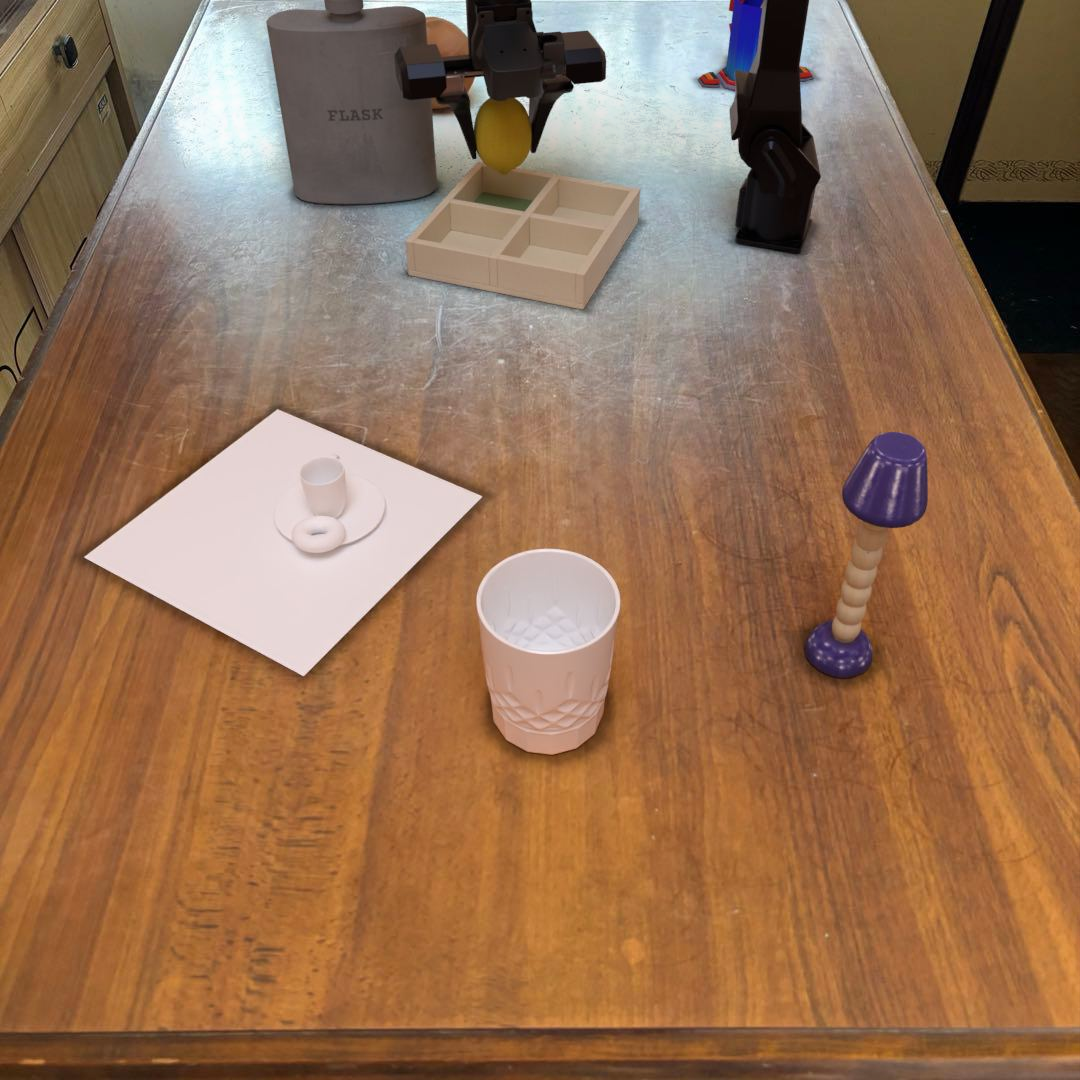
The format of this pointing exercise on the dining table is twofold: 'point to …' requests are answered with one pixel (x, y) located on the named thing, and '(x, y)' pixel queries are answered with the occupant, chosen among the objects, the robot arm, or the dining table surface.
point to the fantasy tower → (742, 45)
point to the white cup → (548, 646)
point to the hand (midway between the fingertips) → (502, 154)
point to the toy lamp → (870, 544)
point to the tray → (525, 234)
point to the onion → (447, 45)
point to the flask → (352, 104)
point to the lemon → (502, 134)
